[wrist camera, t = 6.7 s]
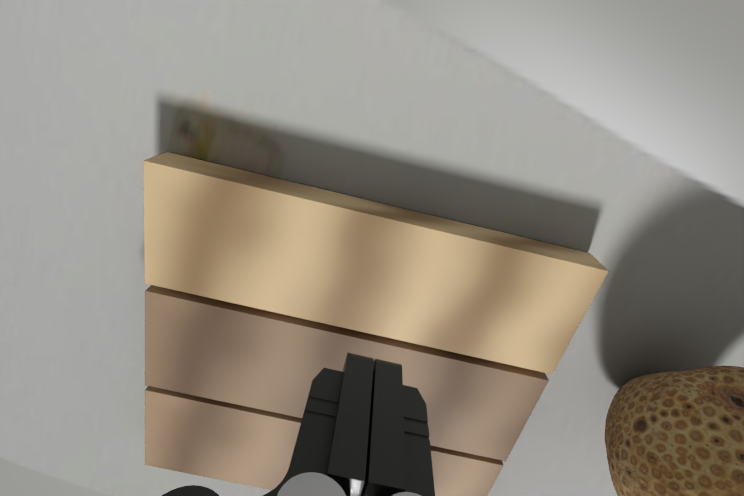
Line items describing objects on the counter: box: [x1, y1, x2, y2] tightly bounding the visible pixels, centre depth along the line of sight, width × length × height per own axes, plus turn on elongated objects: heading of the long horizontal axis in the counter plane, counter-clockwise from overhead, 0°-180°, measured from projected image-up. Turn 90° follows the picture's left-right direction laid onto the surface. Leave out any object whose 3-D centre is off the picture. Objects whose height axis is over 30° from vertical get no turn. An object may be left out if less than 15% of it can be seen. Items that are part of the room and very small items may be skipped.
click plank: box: [144, 152, 609, 374], centre depth 21 cm, size 22×6×2 cm, turn 77°
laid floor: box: [145, 285, 549, 496], centre depth 25 cm, size 22×13×2 cm, turn 77°
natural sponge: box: [605, 366, 744, 496], centre depth 19 cm, size 9×9×10 cm
